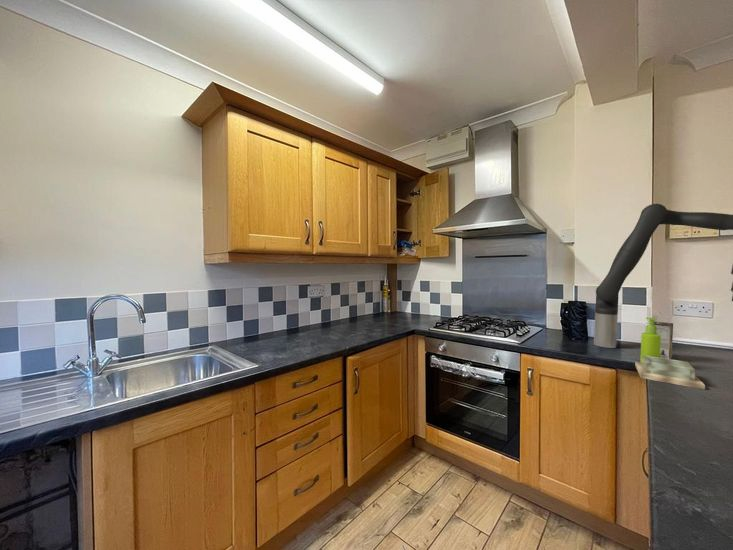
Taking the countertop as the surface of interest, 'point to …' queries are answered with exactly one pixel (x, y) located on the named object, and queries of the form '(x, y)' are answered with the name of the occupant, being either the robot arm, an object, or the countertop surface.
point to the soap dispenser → (650, 341)
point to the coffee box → (665, 338)
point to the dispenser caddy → (668, 371)
